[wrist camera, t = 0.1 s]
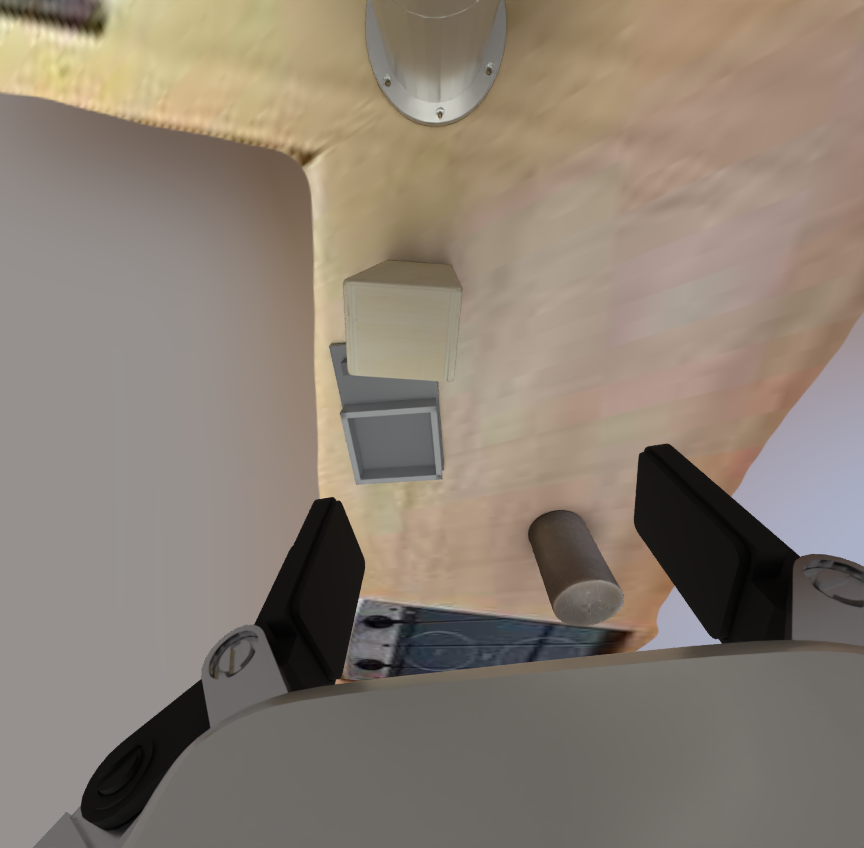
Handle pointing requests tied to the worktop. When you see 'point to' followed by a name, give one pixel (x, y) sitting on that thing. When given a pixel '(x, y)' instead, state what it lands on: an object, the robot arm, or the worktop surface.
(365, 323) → the beige tall block
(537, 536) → the pillar candle
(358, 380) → the tray
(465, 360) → the worktop surface
